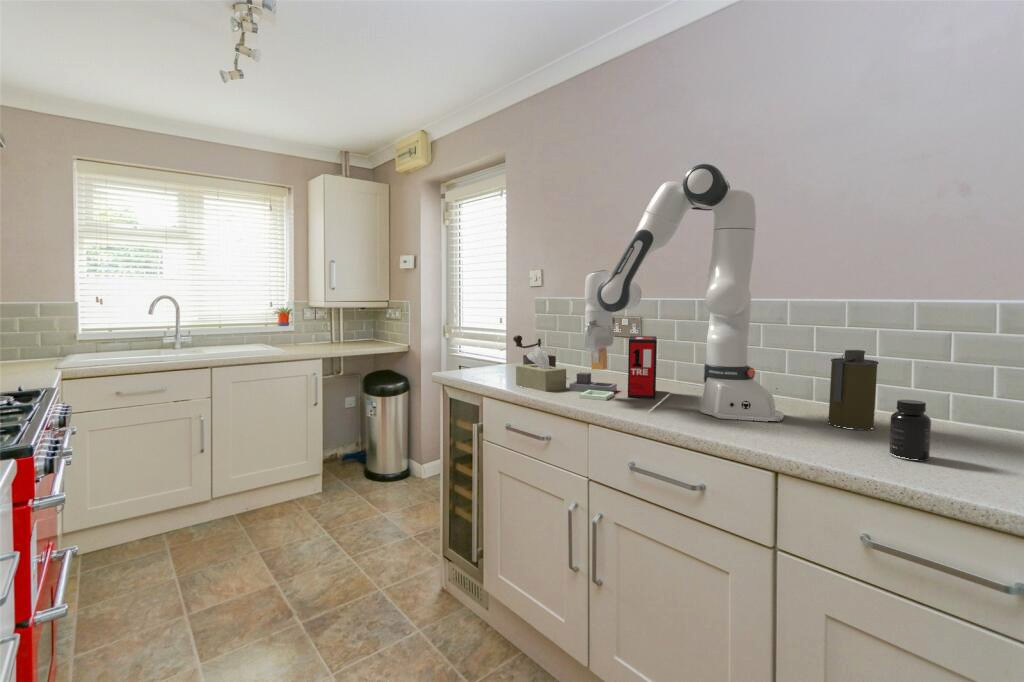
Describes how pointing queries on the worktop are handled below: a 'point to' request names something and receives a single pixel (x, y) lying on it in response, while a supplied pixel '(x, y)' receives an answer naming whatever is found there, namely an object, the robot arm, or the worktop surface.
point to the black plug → (584, 378)
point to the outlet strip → (593, 387)
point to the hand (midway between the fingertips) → (599, 361)
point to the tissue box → (540, 373)
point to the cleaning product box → (642, 367)
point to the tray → (596, 395)
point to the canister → (853, 391)
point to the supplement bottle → (910, 430)
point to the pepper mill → (518, 340)
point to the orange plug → (603, 360)
